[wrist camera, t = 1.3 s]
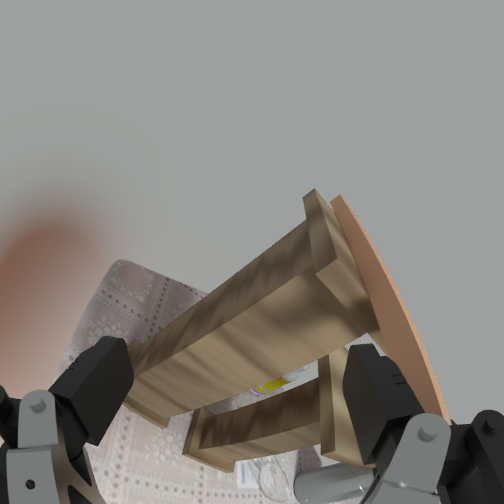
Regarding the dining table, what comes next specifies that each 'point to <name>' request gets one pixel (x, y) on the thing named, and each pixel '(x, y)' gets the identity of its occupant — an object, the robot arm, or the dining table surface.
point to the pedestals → (264, 351)
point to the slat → (392, 314)
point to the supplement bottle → (278, 381)
